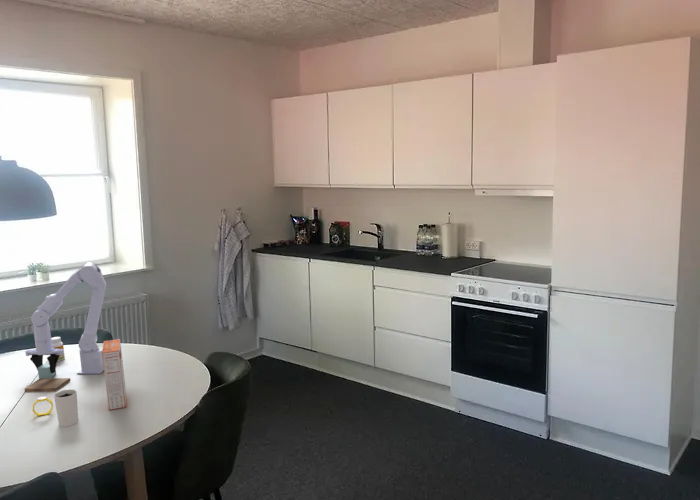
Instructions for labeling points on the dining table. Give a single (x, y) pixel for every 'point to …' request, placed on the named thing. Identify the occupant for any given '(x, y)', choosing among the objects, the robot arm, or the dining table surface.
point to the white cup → (66, 407)
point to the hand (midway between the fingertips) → (47, 372)
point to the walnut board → (47, 384)
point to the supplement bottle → (58, 346)
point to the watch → (42, 400)
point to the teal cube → (45, 371)
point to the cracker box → (114, 374)
